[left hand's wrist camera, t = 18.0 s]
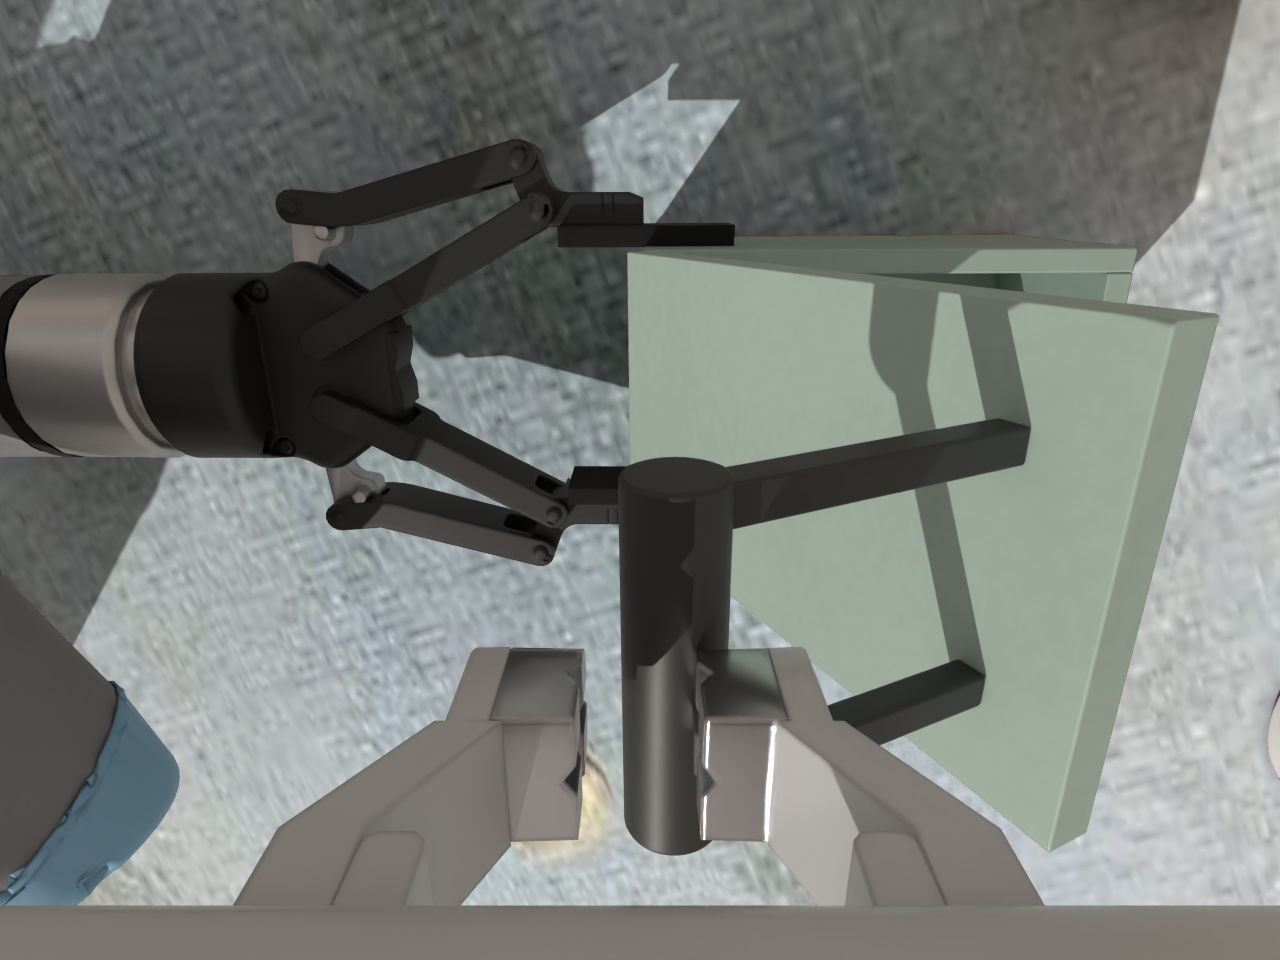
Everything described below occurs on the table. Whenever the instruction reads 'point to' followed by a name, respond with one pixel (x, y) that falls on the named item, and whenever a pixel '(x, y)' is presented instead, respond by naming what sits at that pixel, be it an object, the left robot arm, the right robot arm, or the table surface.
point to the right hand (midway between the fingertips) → (726, 367)
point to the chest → (950, 260)
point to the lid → (896, 514)
